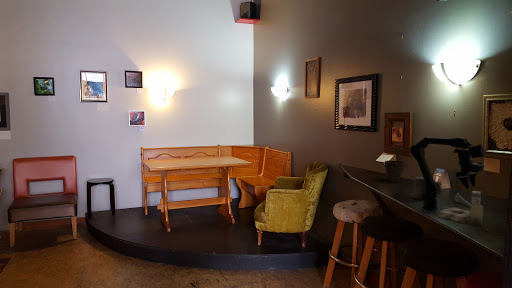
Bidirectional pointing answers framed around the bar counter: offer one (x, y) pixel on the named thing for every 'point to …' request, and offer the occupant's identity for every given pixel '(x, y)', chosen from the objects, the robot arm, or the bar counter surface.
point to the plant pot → (394, 170)
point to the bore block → (455, 214)
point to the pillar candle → (419, 188)
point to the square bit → (476, 197)
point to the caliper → (461, 199)
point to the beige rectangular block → (476, 215)
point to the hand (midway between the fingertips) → (471, 187)
